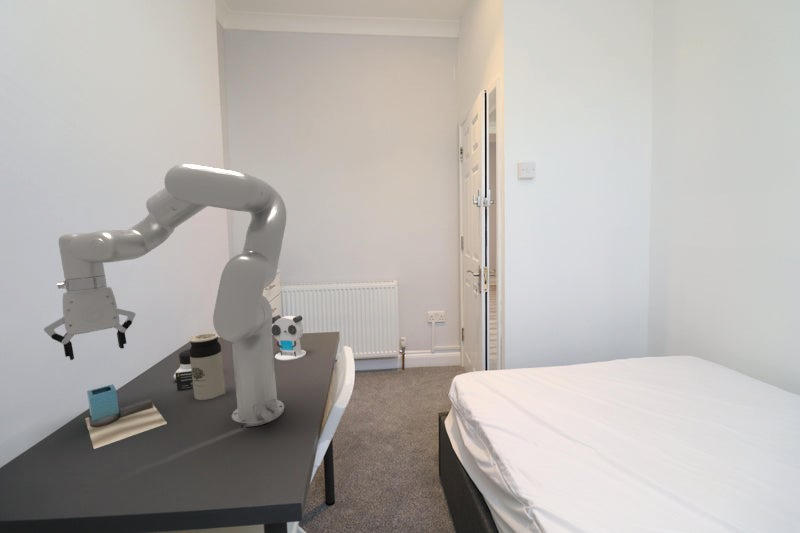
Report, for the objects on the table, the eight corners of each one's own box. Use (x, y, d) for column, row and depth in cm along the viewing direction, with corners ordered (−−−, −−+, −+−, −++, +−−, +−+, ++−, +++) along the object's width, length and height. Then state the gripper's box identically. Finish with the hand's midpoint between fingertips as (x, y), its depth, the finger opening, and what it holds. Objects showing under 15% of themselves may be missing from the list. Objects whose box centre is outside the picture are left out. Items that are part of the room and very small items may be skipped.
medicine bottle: (177, 395, 110) (172, 355, 109) (185, 385, 117) (181, 348, 116) (203, 391, 112) (199, 352, 110) (210, 382, 118) (206, 345, 117)
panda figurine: (267, 359, 137) (263, 319, 136) (285, 349, 148) (281, 312, 147) (295, 361, 134) (292, 320, 132) (311, 350, 145) (308, 313, 143)
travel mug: (215, 389, 113) (209, 331, 111) (231, 394, 109) (225, 334, 107) (189, 400, 106) (182, 338, 104) (205, 406, 102) (198, 342, 100)
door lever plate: (167, 427, 91) (164, 397, 90) (94, 454, 82) (89, 420, 81) (149, 403, 106) (146, 376, 105) (85, 422, 96) (81, 394, 95)
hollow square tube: (119, 412, 94) (116, 389, 93) (92, 420, 90) (89, 397, 89) (115, 406, 97) (112, 384, 97) (90, 413, 94) (86, 391, 93)
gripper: (37, 291, 81) (50, 367, 83) (132, 280, 93) (142, 346, 95) (37, 289, 87) (49, 360, 89) (127, 278, 99) (136, 341, 101)
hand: (97, 352), depth 92 cm, fingers open, 9 cm apart
